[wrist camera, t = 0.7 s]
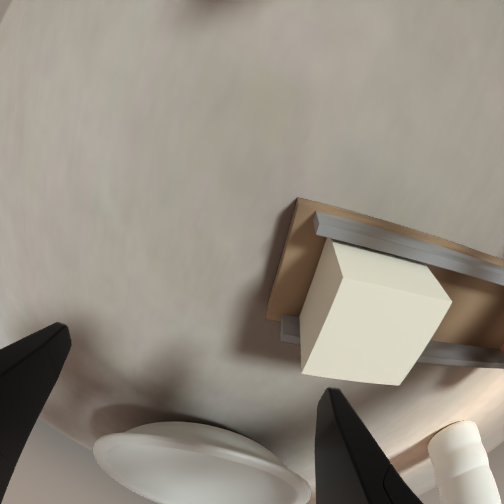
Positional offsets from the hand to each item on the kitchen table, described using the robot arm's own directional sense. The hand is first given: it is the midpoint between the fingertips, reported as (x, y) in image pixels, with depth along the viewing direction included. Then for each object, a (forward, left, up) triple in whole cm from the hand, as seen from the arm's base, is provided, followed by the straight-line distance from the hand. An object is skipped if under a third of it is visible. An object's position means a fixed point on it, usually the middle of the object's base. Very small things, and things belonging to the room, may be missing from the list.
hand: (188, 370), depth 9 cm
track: (-15, +1, -12) cm, 19 cm away
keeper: (-8, +1, -10) cm, 13 cm away
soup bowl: (-1, +27, -12) cm, 30 cm away
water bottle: (-31, +20, -12) cm, 39 cm away
